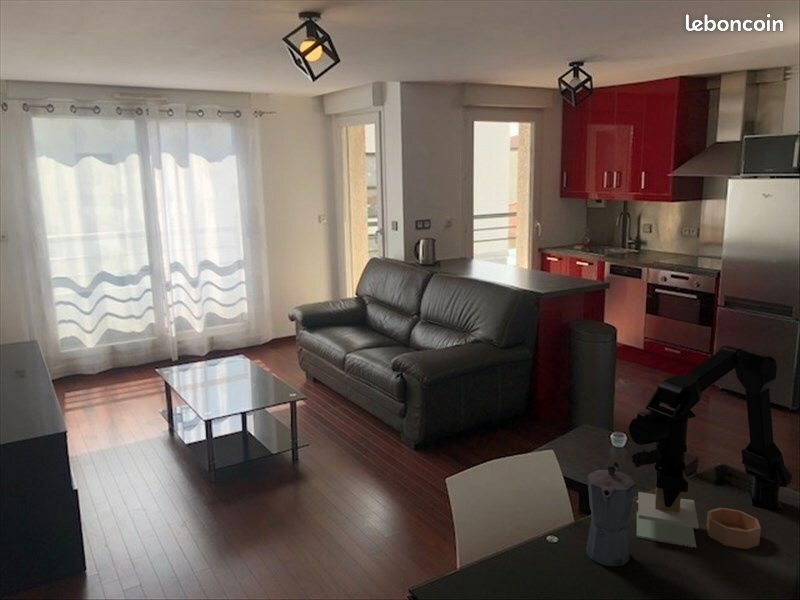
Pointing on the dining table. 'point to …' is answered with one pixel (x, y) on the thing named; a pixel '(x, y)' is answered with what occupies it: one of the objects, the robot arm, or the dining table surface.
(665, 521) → the cover
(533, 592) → the dining table surface
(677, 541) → the mat
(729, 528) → the bowl
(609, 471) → the moka pot
